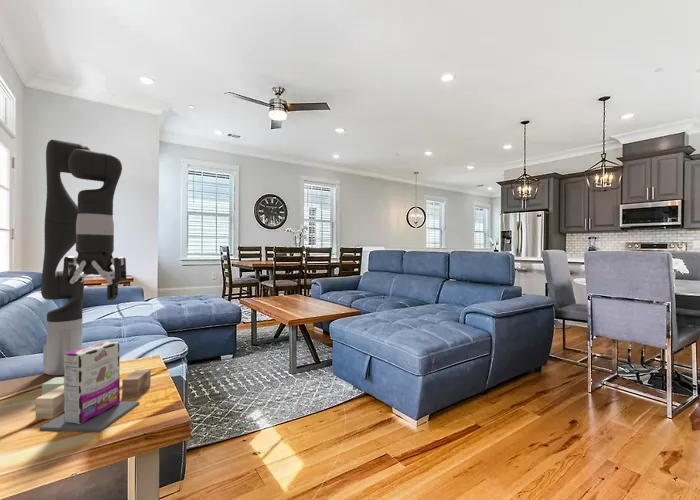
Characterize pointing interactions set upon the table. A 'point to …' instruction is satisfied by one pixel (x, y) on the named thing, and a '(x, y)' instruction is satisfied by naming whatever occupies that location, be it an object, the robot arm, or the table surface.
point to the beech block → (50, 404)
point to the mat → (94, 423)
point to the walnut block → (136, 383)
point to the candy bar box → (91, 381)
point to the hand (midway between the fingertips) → (94, 299)
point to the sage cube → (52, 384)
